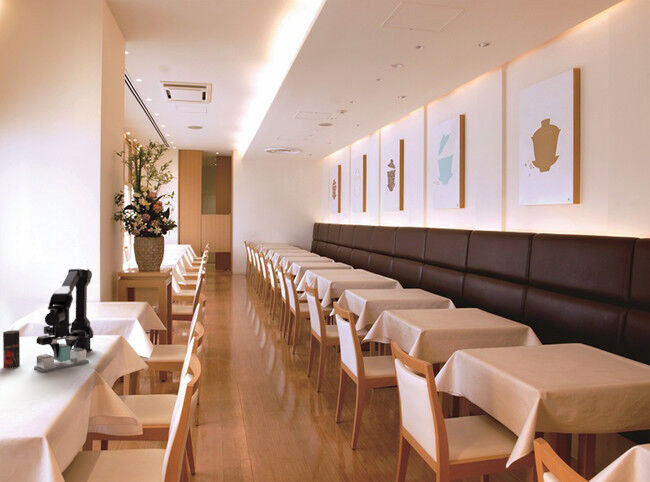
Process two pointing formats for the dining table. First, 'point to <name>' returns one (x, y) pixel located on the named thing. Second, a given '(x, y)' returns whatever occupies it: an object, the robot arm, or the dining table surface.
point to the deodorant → (11, 349)
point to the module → (63, 353)
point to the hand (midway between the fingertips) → (62, 356)
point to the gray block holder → (47, 362)
